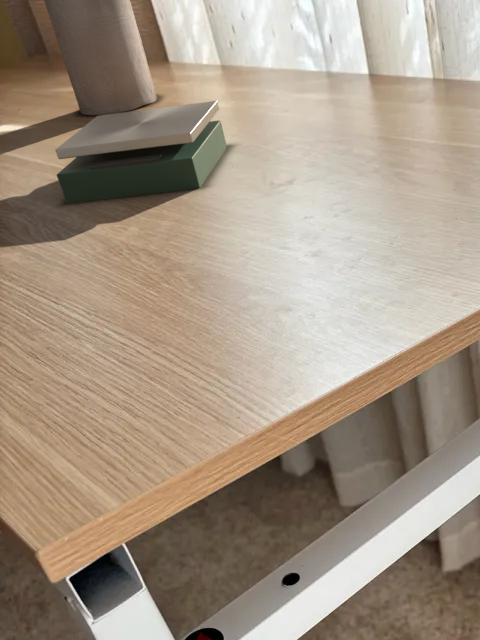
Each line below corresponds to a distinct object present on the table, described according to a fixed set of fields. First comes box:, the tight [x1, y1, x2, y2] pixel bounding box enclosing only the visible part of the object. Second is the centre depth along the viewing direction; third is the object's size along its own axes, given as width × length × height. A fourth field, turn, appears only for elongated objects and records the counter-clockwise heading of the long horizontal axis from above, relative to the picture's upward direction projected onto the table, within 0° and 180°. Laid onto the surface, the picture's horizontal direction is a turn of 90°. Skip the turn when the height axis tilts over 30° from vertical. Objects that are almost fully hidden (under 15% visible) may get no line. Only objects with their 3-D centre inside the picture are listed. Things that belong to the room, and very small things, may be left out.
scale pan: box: [54, 100, 220, 160], centre depth 74 cm, size 12×12×1 cm
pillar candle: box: [43, 0, 158, 116], centre depth 98 cm, size 10×10×15 cm
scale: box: [56, 119, 228, 205], centre depth 75 cm, size 12×13×3 cm
